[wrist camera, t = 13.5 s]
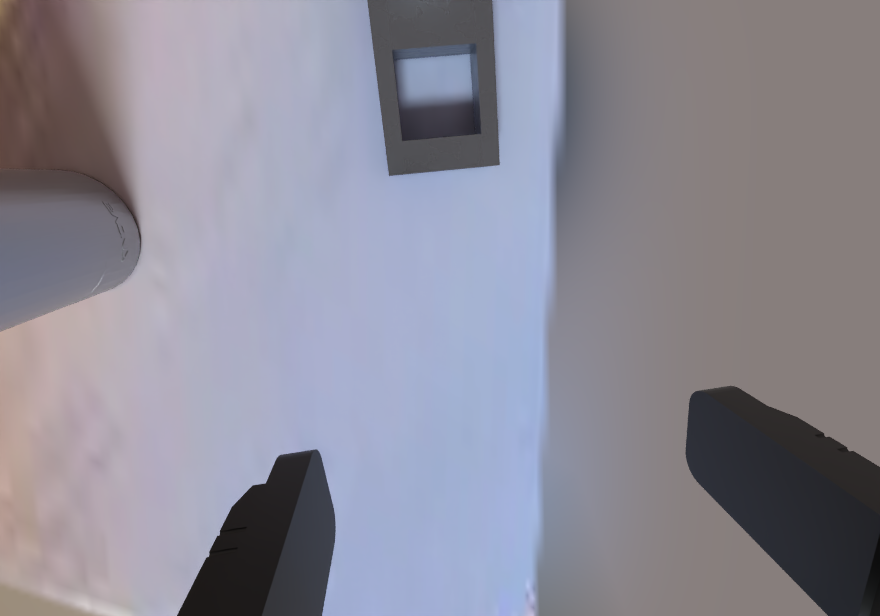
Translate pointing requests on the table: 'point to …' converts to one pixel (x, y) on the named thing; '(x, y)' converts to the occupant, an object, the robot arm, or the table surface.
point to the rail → (430, 35)
